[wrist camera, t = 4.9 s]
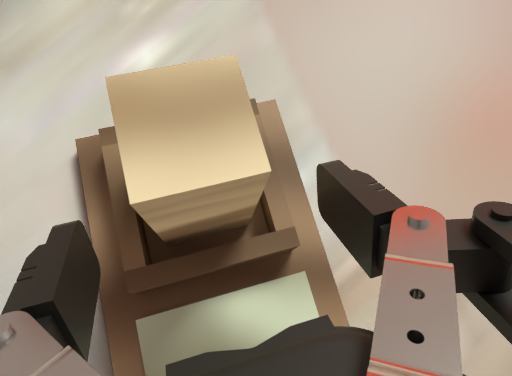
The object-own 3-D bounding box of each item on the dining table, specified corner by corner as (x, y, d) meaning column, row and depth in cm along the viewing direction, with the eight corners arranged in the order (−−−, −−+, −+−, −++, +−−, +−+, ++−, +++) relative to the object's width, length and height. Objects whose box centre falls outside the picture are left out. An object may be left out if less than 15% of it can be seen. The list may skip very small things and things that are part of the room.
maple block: (248, 224, 20) (271, 170, 12) (167, 245, 20) (130, 204, 11) (228, 151, 21) (235, 54, 13) (151, 168, 21) (105, 77, 12)
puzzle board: (382, 447, 19) (412, 473, 16) (147, 540, 17) (132, 590, 14) (272, 107, 24) (280, 81, 21) (81, 146, 22) (61, 123, 19)
